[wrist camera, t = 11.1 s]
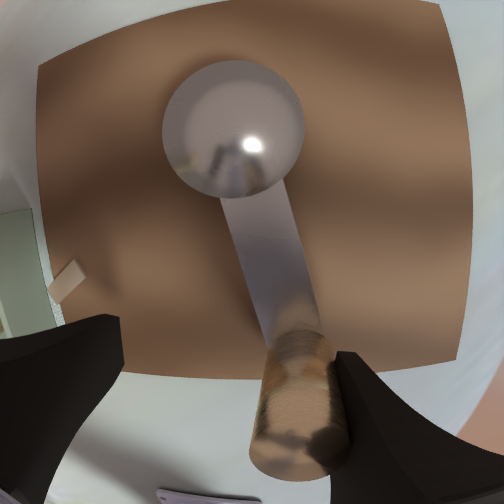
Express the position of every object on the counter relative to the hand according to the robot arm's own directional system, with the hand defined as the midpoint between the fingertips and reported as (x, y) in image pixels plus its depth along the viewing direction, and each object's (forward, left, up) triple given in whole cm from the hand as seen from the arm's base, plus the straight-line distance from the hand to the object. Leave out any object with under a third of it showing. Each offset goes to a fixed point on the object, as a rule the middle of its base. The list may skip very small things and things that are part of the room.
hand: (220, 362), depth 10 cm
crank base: (+5, 0, -4) cm, 7 cm away
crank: (+4, -2, -3) cm, 5 cm away
